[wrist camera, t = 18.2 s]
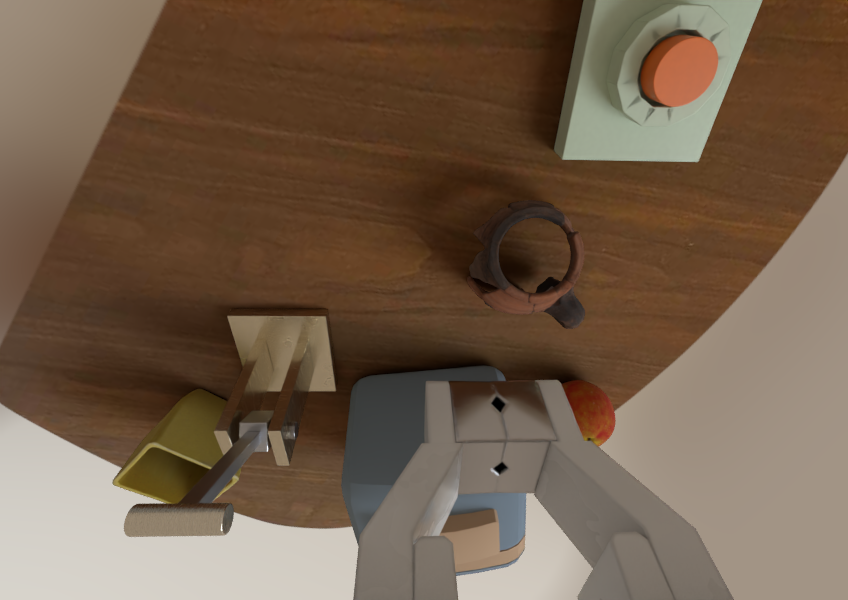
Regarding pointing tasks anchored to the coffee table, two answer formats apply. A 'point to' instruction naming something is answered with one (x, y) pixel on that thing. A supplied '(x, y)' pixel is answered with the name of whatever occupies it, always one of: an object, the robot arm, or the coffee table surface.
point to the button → (679, 70)
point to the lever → (203, 491)
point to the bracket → (278, 371)
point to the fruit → (590, 410)
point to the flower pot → (177, 451)
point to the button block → (621, 79)
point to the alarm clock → (393, 449)
